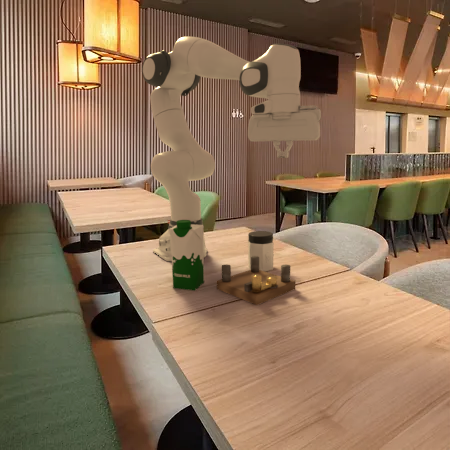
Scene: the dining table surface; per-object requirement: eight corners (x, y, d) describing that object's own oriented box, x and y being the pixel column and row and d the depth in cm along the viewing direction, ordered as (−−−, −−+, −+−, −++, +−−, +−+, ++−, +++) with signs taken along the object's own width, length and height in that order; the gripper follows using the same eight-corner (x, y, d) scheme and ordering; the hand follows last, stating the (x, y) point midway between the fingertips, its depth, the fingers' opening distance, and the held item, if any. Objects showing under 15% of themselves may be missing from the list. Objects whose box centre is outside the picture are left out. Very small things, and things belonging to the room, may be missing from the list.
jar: (257, 274, 124) (257, 237, 122) (242, 267, 131) (242, 233, 128) (278, 268, 129) (279, 233, 126) (263, 262, 135) (263, 229, 133)
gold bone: (271, 282, 108) (271, 268, 107) (278, 284, 106) (279, 270, 105) (249, 290, 103) (249, 275, 102) (256, 293, 100) (256, 278, 100)
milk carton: (168, 289, 112) (165, 221, 108) (182, 278, 121) (179, 216, 116) (196, 292, 109) (194, 223, 105) (208, 281, 118) (206, 217, 114)
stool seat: (216, 288, 112) (216, 265, 110) (254, 275, 122) (254, 254, 121) (256, 305, 100) (257, 279, 99) (295, 289, 111) (295, 266, 109)
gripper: (323, 105, 105) (322, 157, 108) (253, 109, 113) (253, 157, 116) (319, 103, 99) (317, 158, 102) (245, 107, 108) (245, 158, 111)
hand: (282, 157), depth 109 cm, fingers closed
